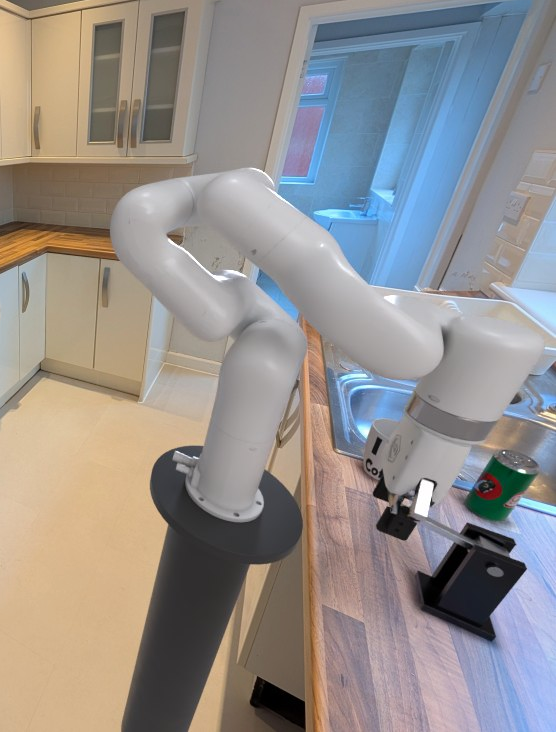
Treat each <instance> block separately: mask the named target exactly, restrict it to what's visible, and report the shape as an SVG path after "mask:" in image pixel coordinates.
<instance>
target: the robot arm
mask: <svg viewBox="0 0 556 732" xmlns="http://www.w3.org/2000/svg"><path fill="white" fill-rule="evenodd" d="M194 227H195V228H196V227H206V228H208V230H210V231H211V232H213V234H215V235H217V237H219V238H220V239H222V240H223V241H224V242H225V243H227V244H228V245H229V246H230V247H232V248H233V249H234V250H235V251H236V252H238V253H239V254H241V255H242V256H243V257H244V258H246V259H247V260H248V261H249V262H251V263H252V264H253V265H254V266H255V267H257V268H258V269H259V270H260V271H262V272H263V273H264V274H265V275H267V276H268V277H269V278H270V279H271V280H272V281H274V283H275V284H276V285H277V286H278V288H279V289H280V291H281V292H282V294H283V296H285V297H286V299H287V300H288V301H289V302H290V303H291V304H292V305H293V307H294V308H295V309H296V310H297V311H298V313H299V314H300V315H301V316H302V317H303V319H304V320H306V322H307V323H308V325H310V326H311V327H312V328H313V329H314V330H315V331H316V332H317V333H318V334H319V335H320V336H322V338H324V339H325V340H326V341H327V342H328V343H330V344H331V345H332V346H334V347H335V348H336V349H337V350H339V352H341V353H342V354H344V355H345V357H347V358H348V359H350V360H351V361H352V362H354V363H355V364H356V365H358V366H359V367H361V368H362V369H363V370H365V371H366V372H369V373H371V374H373V375H375V376H378V377H380V378H383V379H388V380H392V381H393V380H394V381H411V380H412V381H413V380H416V379H419V380H418V381H417V383H416V385H415V387H414V389H413V391H412V392H411V394H410V396H409V398H408V399H407V402H406V404H405V406H404V408H403V410H402V411H403V416H402V417H401V419H400V420H399V421H400V422H399V423H398V425H397V426H396V428H395V429H394V431H393V433H392V434H391V436H390V438H389V439H388V441H387V442H386V444H385V446H384V448H383V450H382V454H381V458H382V467H383V474H382V476H381V478H380V480H378V482H377V483H376V485H375V487H374V488H373V491H372V496H373V497H374V498H375V499H378V500H381V501H383V502H386V503H388V504H389V501H388V494H387V490H388V491H389V492H390V493H393V494H395V497H394V500H393V502H392V505H391V507H389V505H387V506H386V507H385V509H384V510H383V513H382V514H381V515H380V517H379V519H378V521H377V522H376V524H375V529H376V530H377V531H379V532H381V533H383V534H386V535H388V536H390V537H393V538H394V539H395V538H396V539H397V540H400V541H403V542H406V541H407V540H409V537H410V536H411V535H412V533H413V531H414V530H415V528H416V526H417V525H418V523H419V522H420V521H425V520H426V519H427V517H429V516H428V515H429V510H430V509H431V508H436V507H438V506H439V505H440V504H441V503H442V502H443V500H444V499H445V498H446V496H447V495H448V493H449V492H450V490H451V489H452V487H453V486H454V483H455V481H456V479H457V477H458V476H459V474H460V472H461V471H462V468H463V466H464V465H465V462H466V461H467V458H468V456H469V454H470V452H471V450H472V448H473V446H474V445H475V446H477V445H482V444H483V443H485V442H486V441H487V439H488V437H489V436H490V434H491V433H492V431H493V430H494V428H495V427H496V426H497V423H498V422H499V421H500V419H501V418H502V416H503V414H504V413H505V412H506V410H507V408H508V407H509V406H510V404H511V403H512V401H513V399H514V398H515V396H516V395H517V394H518V392H519V390H520V389H521V387H522V386H523V385H524V383H525V382H526V380H527V379H528V377H529V375H530V374H531V373H532V371H533V369H534V368H535V366H536V365H537V363H538V362H539V360H540V359H541V357H542V356H543V354H544V352H545V350H546V349H545V348H546V342H545V339H544V338H543V336H541V335H540V334H539V333H538V332H536V331H535V330H532V329H531V328H529V327H526V326H524V325H522V324H518V323H516V322H513V321H509V320H507V319H501V318H497V317H491V316H484V315H472V314H468V313H465V312H462V311H458V310H454V309H451V308H448V307H445V306H442V305H440V304H437V303H434V302H431V301H428V300H425V299H421V298H418V297H413V296H409V295H387V296H384V295H382V294H381V293H380V292H378V291H377V290H376V289H374V288H373V287H372V286H371V285H370V284H369V283H368V282H367V281H365V279H364V278H362V276H360V274H359V273H358V272H357V271H356V270H355V269H354V268H353V266H352V265H351V263H350V262H349V260H348V259H347V258H346V256H345V254H344V252H343V250H342V248H341V246H340V244H339V243H338V242H337V240H336V238H335V237H334V236H333V235H332V234H331V233H330V232H329V231H328V230H327V229H326V228H324V227H323V226H321V224H319V223H317V222H316V221H314V220H313V219H312V218H310V216H308V215H306V214H305V213H303V212H302V211H300V210H299V209H298V208H296V207H295V206H293V205H292V204H291V203H290V202H288V200H287V201H286V200H285V199H284V198H283V197H281V195H279V194H278V193H276V187H275V184H274V182H273V180H272V179H271V177H270V176H269V175H268V174H267V173H265V171H264V172H263V170H260V169H257V168H253V167H241V168H236V169H231V170H225V171H220V172H213V173H206V174H198V175H190V176H182V177H174V178H169V179H164V180H159V181H156V182H151V183H147V184H143V185H140V186H137V187H135V188H132V189H131V190H129V191H128V192H127V193H125V194H124V195H123V196H122V197H121V198H120V199H119V200H118V202H117V203H116V205H115V207H114V209H113V211H112V214H111V218H110V223H109V236H110V237H109V239H110V242H111V243H110V244H111V246H112V250H113V251H114V253H115V256H116V257H117V259H118V260H119V261H120V263H121V264H122V265H123V267H124V268H125V269H126V270H127V271H128V272H129V273H130V274H131V275H132V276H133V277H134V278H135V279H137V280H138V281H139V282H140V283H141V284H142V285H143V286H144V287H145V288H146V289H147V290H148V291H149V292H150V293H151V294H152V296H154V298H155V299H156V300H157V301H158V302H159V303H160V304H161V306H163V307H164V308H165V309H166V311H168V312H169V313H170V314H171V316H173V318H175V320H176V321H178V323H179V324H180V325H181V326H182V327H183V328H184V329H185V330H186V331H187V332H188V333H189V334H190V335H191V336H192V337H194V338H196V339H197V340H199V341H202V342H205V343H206V342H207V343H214V342H218V341H221V340H224V339H225V338H227V337H230V338H231V339H232V340H233V343H232V344H231V345H230V347H229V348H228V350H227V351H226V353H225V355H224V357H223V359H222V361H221V365H220V368H219V373H218V380H217V388H216V393H215V398H214V402H213V406H212V410H211V414H210V418H209V423H208V427H207V431H206V435H205V438H204V443H203V445H202V446H203V450H202V453H201V454H200V457H199V458H197V457H194V456H193V458H191V457H189V456H186V455H185V454H182V453H180V452H177V451H175V453H174V456H173V461H175V462H178V464H177V466H176V470H177V471H180V472H182V473H186V478H185V486H186V490H187V492H188V494H189V496H190V497H191V498H192V500H193V501H194V502H195V503H196V504H197V505H198V506H199V507H201V508H202V509H203V510H204V511H206V512H208V513H209V514H211V515H213V516H215V517H218V518H220V519H223V520H226V521H231V522H249V521H252V520H254V519H256V518H257V517H259V515H260V514H261V512H262V509H263V506H264V500H263V496H262V494H261V492H260V490H259V489H258V487H259V484H260V481H261V478H262V475H263V472H264V470H266V467H267V464H268V461H269V458H270V455H271V452H272V449H273V447H274V443H275V441H276V437H277V434H278V431H279V429H280V426H281V422H282V420H283V416H284V414H285V411H286V408H287V405H288V401H289V400H290V396H291V395H292V392H293V389H294V386H295V384H296V381H297V379H298V376H299V374H300V371H301V369H302V367H303V363H304V361H305V358H306V357H307V356H306V355H307V353H308V347H309V345H308V343H309V342H308V338H307V336H306V333H305V331H304V330H303V328H302V327H301V326H300V325H299V323H298V322H297V321H296V320H295V319H294V318H293V317H292V316H291V315H290V314H289V313H288V312H286V310H285V309H283V308H282V306H281V305H279V304H278V303H277V302H276V301H275V300H274V299H273V298H272V297H271V296H270V295H269V294H268V293H266V292H265V290H263V289H262V288H261V287H260V286H259V285H258V284H256V282H255V281H253V280H252V279H251V278H249V277H248V276H246V275H245V274H242V273H241V272H238V271H235V270H231V269H230V270H229V269H218V270H214V271H211V272H209V271H208V270H207V269H206V268H205V267H204V266H202V264H200V262H199V261H198V260H197V259H196V258H195V257H194V256H193V255H192V254H191V253H189V252H188V251H187V250H185V248H183V247H181V246H180V245H178V244H176V243H175V242H173V241H172V240H171V239H170V238H169V237H168V233H170V232H172V231H175V230H176V229H180V228H181V229H183V228H194ZM182 464H184V465H182ZM185 465H186V466H189V467H190V468H189V467H186V466H185ZM411 491H412V492H414V493H413V494H412V493H410V492H411ZM404 500H409V501H411V502H412V503H411V505H409V506H407V505H406V506H401V503H402V504H403V502H404Z"/></svg>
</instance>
